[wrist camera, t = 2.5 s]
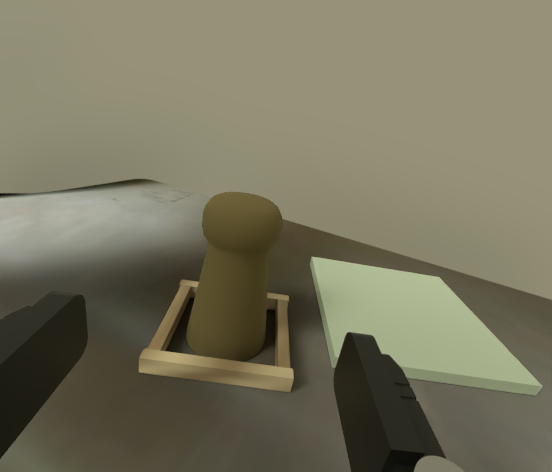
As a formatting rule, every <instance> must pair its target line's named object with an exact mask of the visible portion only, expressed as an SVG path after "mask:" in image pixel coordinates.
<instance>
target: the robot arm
mask: <svg viewBox="0 0 552 472" xmlns="http://www.w3.org/2000/svg"><path fill="white" fill-rule="evenodd" d="M87 340H88V333H87V320H86V308H85V299H84V297H83V296H82V295H78V294H71V293H63V292H56V291H53V292H50V293H49V294H47V295H46V296H45V297H44V298H42V299H41V300H40V301H39V302H37V303H36V304H35V305H34V306H32V307H31V306H27V307H25V308H23V309H20V310H18V311H16V312H14V313H12V314H10V315H7V316H5V317H4V318H3V319H1V320H0V459H1V457H2V456H3V455H4V453H5V452H6V451H7V450H8V448H9V447H10V446H11V445H12V443H13V442H14V441H15V440H16V438H17V437H18V436H19V435H20V433H21V432H22V431H23V430H24V428H25V427H26V426H27V425H28V423H29V422H30V421H31V420H32V418H33V417H34V416H35V414H36V413H37V412H38V411H39V409H40V408H41V407H42V406H43V404H44V403H45V402H46V401H47V399H48V398H49V397H50V396H51V394H52V393H53V392H54V391H55V389H56V388H57V387H58V386H59V384H60V383H61V382H62V380H63V379H64V378H65V377H66V375H67V374H68V373H69V372H70V370H71V369H72V368H73V367H74V365H75V364H76V363H77V362H78V360H79V359H80V358H81V356H82V354H83V353H84V350H85V348H86V345H87ZM334 391H335V396H336V401H337V405H338V410H339V415H340V420H341V424H342V429H343V434H344V439H345V443H346V448H347V453H348V458H349V462H350V467H351V472H465V471H464V470H463V469H461V468H460V467H459V466H457V465H456V464H454V463H453V462H451V461H449V460H447V459H446V457H445V455H444V453H443V451H442V449H441V447H440V445H439V443H438V441H437V439H436V437H435V435H434V433H433V431H432V429H431V427H430V424H429V422H428V420H427V418H426V416H425V414H424V412H423V410H422V408H421V406H420V404H419V402H418V401H416V396H415V394H414V392H413V390H412V388H410V384H409V382H408V380H407V378H406V376H405V374H404V372H403V370H402V368H401V367H400V366H399V365H398V364H397V363H396V362H395V361H394V359H393V358H392V357H391V356H390V355H388V354H382V353H381V351H380V349H379V347H378V344H377V342H376V340H375V338H374V336H373V335H368V334H360V333H353V332H348V333H347V334H346V336H345V338H344V342H343V345H342V348H341V351H340V355H339V358H338V361H337V364H336V368H335V372H334Z"/></svg>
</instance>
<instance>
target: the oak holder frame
mask: <svg viewBox="0 0 552 472" xmlns="http://www.w3.org/2000/svg"><path fill="white" fill-rule="evenodd" d="M198 283H199V282H196V281H189V280H183V279H182V280H181V282H180V284H179V291H178V293H177V294H176V296H175V298H174V300H173V302H172V304H171V306H170V307H169V309H168V311H167V313H166V315H165V317H164V319H163V321H162V322H161V324H160V326H159V328H158V330H157V332H156V334H155V335H154V337H153V339H152V341H151V343H150V345H149V347H148V349H146V348H144V350H143V351H142V353H141V355H140V357H139V372H140V373H147V374H155V375H162V376H170V377H177V378H185V379H193V380H200V381H208V382H215V383H223V384H230V385H238V386H246V387H253V388H261V389H268V390H276V391H283V392H290V391H291V388H292V384H293V380H294V373H293V369H291V368H290V354H289V334H288V315H287V307H288V303H289V296H287V295H281V294H274V293H267V309H270V310H275V366H269V365H262V364H255V363H248V362H240V361H233V360H226V359H218V358H211V357H204V356H197V355H189V354H182V353H175V352H168V351H166V349H167V347H168V345H169V343H170V341H171V338H172V336H173V334H174V332H175V330H176V327H177V325H178V323H179V321H180V319H181V317H182V314H183V312H184V310H185V308H186V306H187V303H188V301H189V299H190V298H195V295H196V291H197V287H198Z"/></svg>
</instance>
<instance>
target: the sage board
mask: <svg viewBox="0 0 552 472" xmlns="http://www.w3.org/2000/svg"><path fill="white" fill-rule="evenodd" d="M310 266H311V271H312V275H313V280H314V285H315V290H316V294H317V299H318V304H319V309H320V313H321V318H322V323H323V328H324V332H325V337H326V342H327V347H328V351H329V356H330V361H331V366H332V368H336V364H337V361H338V358H339V355H340V351H341V348H342V345H343V342H344V338H345V336H346V334H347V333H348V332H353V333H360V334H368V335H373V336H374V338H375V340H376V342H377V344H378V347H379V349H380V351H381V353H382V354H388V355H390V356H391V357H392V358H393V359H394V361H395V362H396V363H397V364H398V365H399V366H400V367H401V368H402V370H403V372H404V374H405V376H406V378H411V379H418V380H426V381H433V382H440V383H447V384H454V385H462V386H469V387H476V388H483V389H490V390H498V391H505V392H512V393H519V394H527V395H534V396H536V395H537V394H538V392H539V391H540V390H541V388H542V387H543V386H542V385H541V384H540V383H539V382H538V381H537V380H536V379H535V378H534V377H533V376H532V375H531V374H530V372H529V371H528V370H527V369H526V368H525V367H524V366H523V365H522V364H521V363H520V362H519V361H518V360H517V359H516V358H515V357H514V356H513V355H512V354H511V352H510V351H509V350H508V349H507V348H506V347H505V346H504V345H503V344H502V343H501V342H500V341H499V340H498V339H497V338H496V337H495V336H494V335H493V334H492V332H491V331H490V330H489V329H488V328H487V327H486V326H485V325H484V324H483V323H482V322H481V321H480V320H479V319H478V318H477V317H476V316H475V315H474V314H473V313H472V311H471V310H470V309H469V308H468V307H467V306H466V305H465V304H464V303H463V302H462V301H461V300H460V299H459V298H458V297H457V296H456V295H455V294H454V293H453V291H452V290H451V289H450V288H449V287H448V286H447V285H446V284H445V283H444V282H443V281H442V280H441V279H440V278H439V277H434V276H428V275H422V274H416V273H410V272H404V271H397V270H391V269H385V268H379V267H373V266H367V265H361V264H354V263H348V262H342V261H336V260H330V259H324V258H317V257H312V258H311V262H310Z"/></svg>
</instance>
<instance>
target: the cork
mask: <svg viewBox="0 0 552 472" xmlns="http://www.w3.org/2000/svg"><path fill="white" fill-rule="evenodd" d="M202 228H203V233H204V236H205V237H206V239H207V240H208V242H209V243H208V247H207V251H206V255H205V259H204V263H203V267H202V271H201V275H200V279H199V283H198V287H197V291H196V295H195V299H194V303H193V307H192V311H191V315H190V319H189V323H188V327H187V333H186V339H187V341H188V344H189V347H190V348H191V349H192V350H193V351H194V352H195V353H196V354H197V355H199V356H204V357H211V358H218V359H226V360H233V361H240V362H243V361H247V360H249V359H251V358H252V357H254V356H255V355H257V354H258V353H259V352H260V350H261V349H262V348H263V346H264V342H265V335H266V312H267V289H268V266H269V251H270V250H271V249H272V248H273V247H274V246H275V245H276V243H277V241H278V239H279V237H280V234H281V229H282V216H281V213H280V211H279V209H278V207H277V206H276V205H275V204H274V203H273V202H271V201H270V200H268V199H266V198H264V197H261V196H257V195H253V194H249V193H241V192H225V193H221V194H218V195H216V196H214V197H213V198H211V199H210V201H209V202H208V203H207V204H206V206H205V209H204V212H203V221H202Z"/></svg>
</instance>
